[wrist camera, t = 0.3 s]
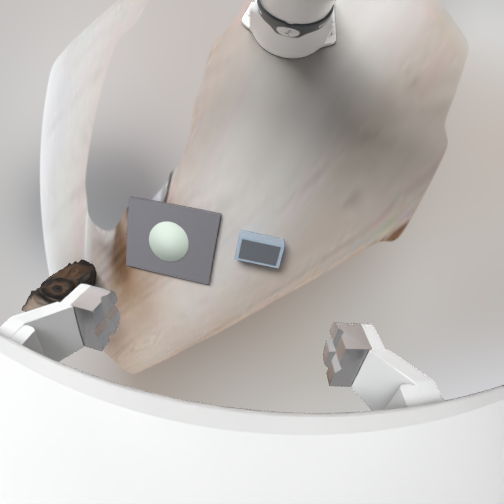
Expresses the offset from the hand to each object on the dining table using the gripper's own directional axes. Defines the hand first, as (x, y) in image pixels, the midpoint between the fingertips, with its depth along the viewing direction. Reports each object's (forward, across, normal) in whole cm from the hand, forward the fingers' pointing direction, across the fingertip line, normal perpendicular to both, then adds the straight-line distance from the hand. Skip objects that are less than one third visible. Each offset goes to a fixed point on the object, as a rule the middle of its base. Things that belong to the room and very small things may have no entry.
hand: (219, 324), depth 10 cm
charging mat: (+46, +17, +15) cm, 52 cm away
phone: (+47, -2, +14) cm, 49 cm away
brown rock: (+47, +43, +30) cm, 70 cm away
